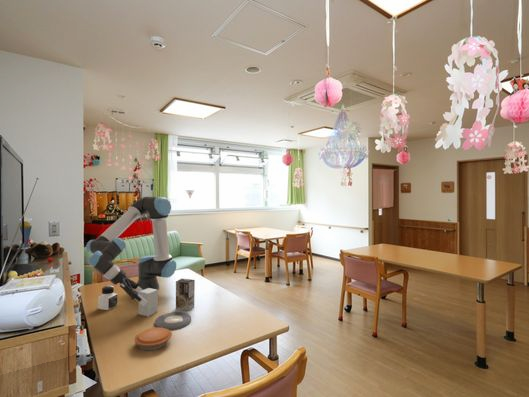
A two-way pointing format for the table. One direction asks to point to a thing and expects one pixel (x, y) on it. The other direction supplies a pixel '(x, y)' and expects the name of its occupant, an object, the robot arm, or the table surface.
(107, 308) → the white bottle
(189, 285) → the coffee box
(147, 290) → the supplement box
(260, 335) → the table surface
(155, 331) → the pie
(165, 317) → the charcoal plate
